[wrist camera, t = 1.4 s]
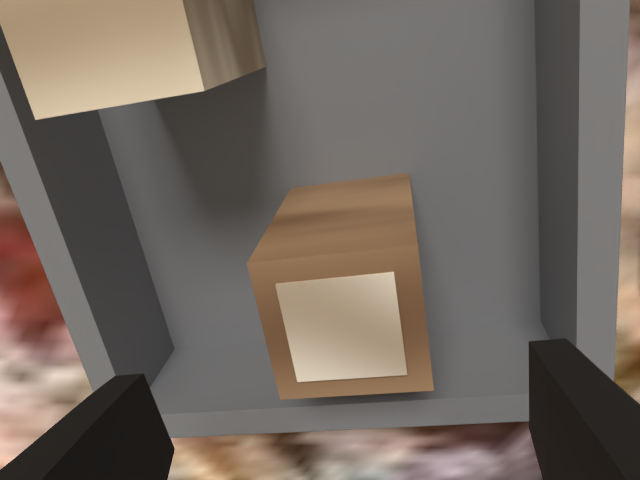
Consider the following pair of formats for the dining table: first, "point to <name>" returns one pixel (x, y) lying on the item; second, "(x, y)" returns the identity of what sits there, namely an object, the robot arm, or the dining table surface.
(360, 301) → the walnut block
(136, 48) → the birch block
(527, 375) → the bin
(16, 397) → the dining table surface
